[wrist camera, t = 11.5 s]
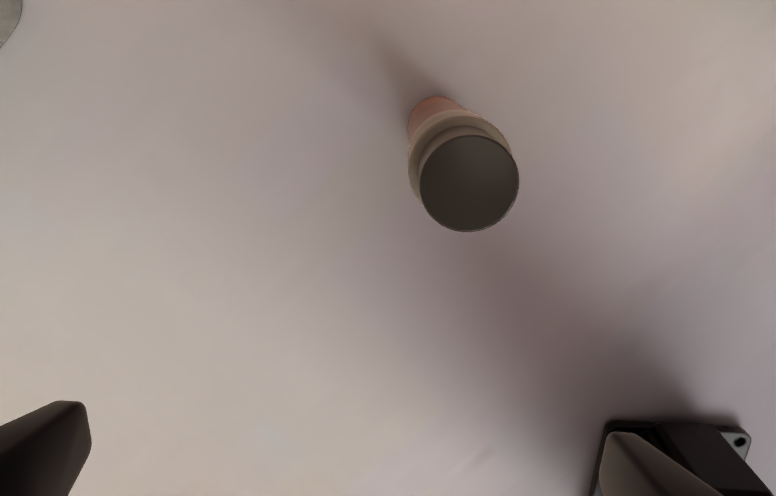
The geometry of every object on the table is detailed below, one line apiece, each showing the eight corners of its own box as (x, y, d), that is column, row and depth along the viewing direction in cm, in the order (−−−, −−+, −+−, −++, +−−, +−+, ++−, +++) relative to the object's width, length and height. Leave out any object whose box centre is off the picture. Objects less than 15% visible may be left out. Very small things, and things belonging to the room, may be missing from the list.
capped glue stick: (464, 157, 20) (522, 245, 10) (405, 154, 20) (405, 239, 10) (469, 96, 19) (538, 126, 9) (408, 93, 19) (412, 120, 9)
